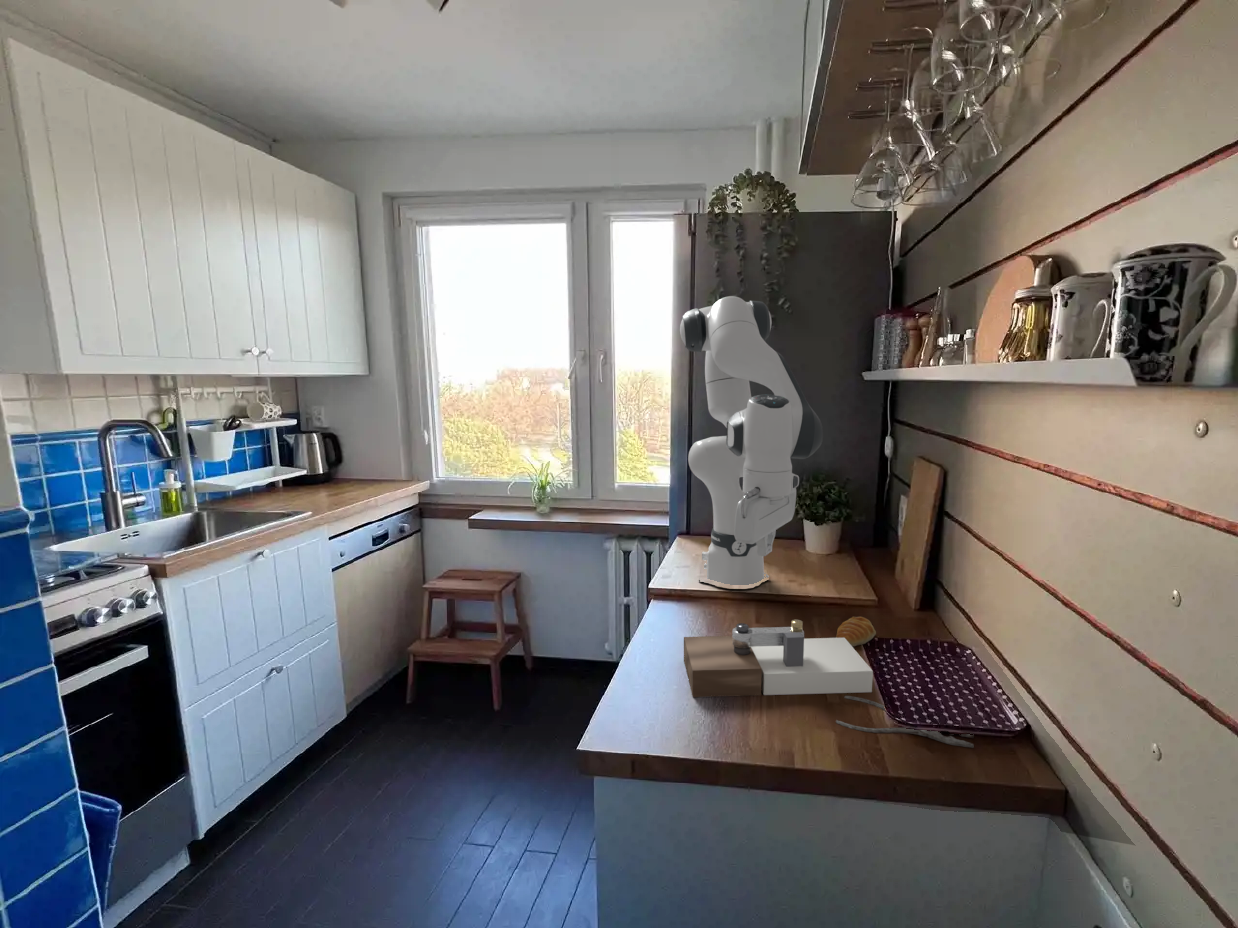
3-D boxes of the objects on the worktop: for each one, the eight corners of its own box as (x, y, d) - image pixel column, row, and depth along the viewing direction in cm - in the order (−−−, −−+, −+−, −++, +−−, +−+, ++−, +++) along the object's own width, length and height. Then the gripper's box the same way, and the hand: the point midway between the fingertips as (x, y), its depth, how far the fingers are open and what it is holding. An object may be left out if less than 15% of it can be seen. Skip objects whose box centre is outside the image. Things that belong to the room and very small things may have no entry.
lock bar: (734, 648, 110) (734, 627, 109) (730, 639, 113) (730, 619, 113) (804, 646, 110) (805, 625, 109) (798, 637, 113) (799, 617, 113)
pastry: (859, 652, 121) (860, 634, 121) (827, 642, 126) (827, 625, 125) (877, 636, 128) (878, 619, 127) (846, 627, 133) (846, 611, 132)
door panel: (747, 659, 119) (748, 613, 117) (843, 656, 119) (845, 610, 118) (763, 694, 106) (765, 644, 105) (871, 692, 106) (874, 641, 105)
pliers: (834, 692, 106) (963, 710, 100) (834, 697, 106) (963, 715, 100) (835, 724, 97) (978, 745, 90) (835, 729, 97) (977, 751, 91)
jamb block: (683, 660, 119) (683, 631, 118) (744, 659, 119) (745, 629, 118) (692, 696, 106) (692, 663, 105) (761, 695, 106) (761, 662, 105)
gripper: (759, 496, 103) (757, 573, 106) (802, 475, 119) (799, 542, 122) (726, 491, 107) (724, 566, 109) (772, 472, 123) (769, 537, 125)
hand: (764, 553), depth 116 cm, fingers closed
